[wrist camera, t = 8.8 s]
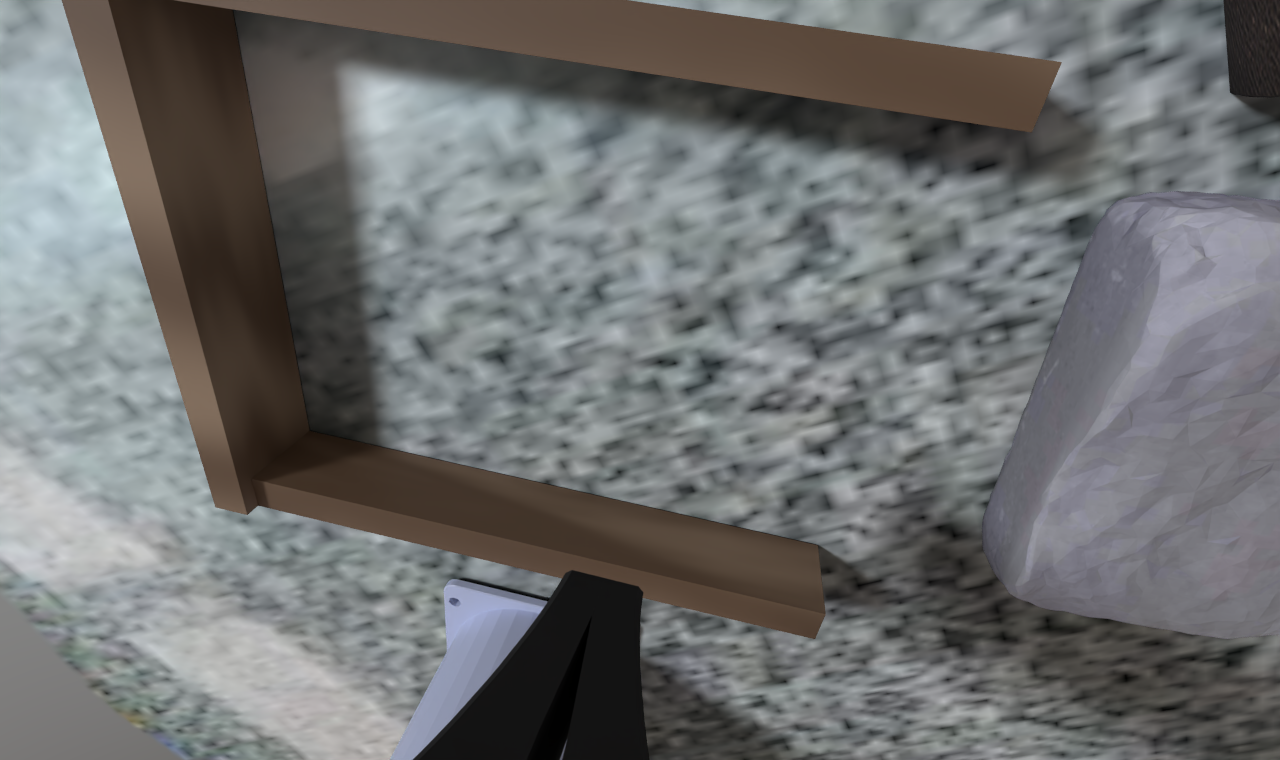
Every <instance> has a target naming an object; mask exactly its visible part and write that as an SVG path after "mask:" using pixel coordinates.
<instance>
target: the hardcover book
mask: <svg viewBox="0 0 1280 760" xmlns="http://www.w3.org/2000/svg"><path fill="white" fill-rule="evenodd" d="M1224 13H1225V27H1226V41H1227V55H1228V69H1229V83H1230V92H1231V93H1233V94H1237V95H1243V96H1249V97H1279V96H1280V0H1224Z"/></svg>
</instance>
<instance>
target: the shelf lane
mask: <svg viewBox="0 0 1280 760" xmlns="http://www.w3.org/2000/svg"><path fill="white" fill-rule="evenodd" d="M62 3H63V6H64V9H65V13H66V16H67V19H68V22H69V26H70V29H71V32H72V36H73V39H74V42H75V46H76V49H77V52H78V55H79V59H80V62H81V65H82V69H83V72H84V75H85V78H86V82H87V85H88V88H89V92H90V95H91V98H92V102H93V105H94V108H95V111H96V115H97V118H98V121H99V125H100V128H101V131H102V135H103V138H104V141H105V144H106V148H107V151H108V154H109V158H110V161H111V164H112V167H113V171H114V174H115V177H116V181H117V184H118V187H119V191H120V194H121V197H122V200H123V204H124V207H125V210H126V214H127V217H128V220H129V223H130V227H131V230H132V233H133V237H134V240H135V243H136V247H137V250H138V253H139V256H140V260H141V263H142V266H143V270H144V273H145V276H146V279H147V283H148V286H149V289H150V293H151V296H152V299H153V303H154V306H155V309H156V312H157V316H158V319H159V322H160V326H161V329H162V332H163V335H164V339H165V342H166V345H167V349H168V352H169V355H170V359H171V362H172V365H173V368H174V372H175V375H176V378H177V382H178V385H179V388H180V391H181V395H182V398H183V401H184V405H185V408H186V411H187V415H188V418H189V421H190V424H191V428H192V431H193V434H194V438H195V441H196V444H197V448H198V451H199V454H200V457H201V461H202V464H203V467H204V471H205V474H206V477H207V480H208V484H209V487H210V490H211V494H212V497H213V500H214V504H215V507H217V508H221V509H225V510H229V511H233V512H237V513H242V514H246V515H248V514H249V513H250V512H251V511H252V510H253V509H254V508H256V507H257V506H258V505H259V506H263V507H267V508H271V509H275V510H279V511H284V512H288V513H292V514H296V515H300V516H304V517H309V518H313V519H317V520H321V521H325V522H329V523H334V524H338V525H342V526H346V527H350V528H354V529H359V530H363V531H367V532H371V533H375V534H379V535H384V536H388V537H392V538H396V539H400V540H404V541H409V542H413V543H417V544H421V545H425V546H429V547H433V548H438V549H442V550H446V551H450V552H454V553H458V554H463V555H467V556H471V557H475V558H479V559H483V560H488V561H492V562H496V563H500V564H504V565H508V566H513V567H517V568H521V569H525V570H529V571H533V572H538V573H542V574H546V575H550V576H554V577H558V578H563V576H564V575H565V573H566V572H569V571H571V570H574V571H578V572H582V573H587V574H591V575H595V576H599V577H603V578H607V579H611V580H615V581H619V582H623V583H627V584H631V585H635V586H639V588H640V589H641V590H642V591H643V592H644V593H643V598H646V599H650V600H654V601H658V602H663V603H667V604H671V605H675V606H679V607H683V608H688V609H692V610H696V611H700V612H704V613H708V614H713V615H717V616H721V617H725V618H729V619H733V620H738V621H742V622H746V623H750V624H754V625H758V626H762V627H767V628H771V629H775V630H779V631H783V632H787V633H792V634H796V635H800V636H804V637H808V638H812V639H815V638H816V635H817V633H818V631H819V628H820V626H821V624H822V621H823V619H824V617H825V605H824V596H823V587H822V578H821V570H820V561H819V552H818V545H814V544H810V543H805V542H801V541H797V540H792V539H788V538H783V537H779V536H774V535H770V534H765V533H761V532H757V531H752V530H748V529H743V528H739V527H734V526H730V525H725V524H721V523H717V522H712V521H708V520H703V519H699V518H694V517H690V516H685V515H681V514H677V513H672V512H668V511H663V510H659V509H654V508H650V507H645V506H641V505H637V504H632V503H628V502H623V501H619V500H614V499H610V498H606V497H601V496H597V495H592V494H588V493H583V492H579V491H574V490H570V489H566V488H561V487H557V486H552V485H548V484H543V483H539V482H534V481H530V480H526V479H521V478H517V477H512V476H508V475H503V474H499V473H494V472H490V471H486V470H481V469H477V468H472V467H468V466H463V465H459V464H454V463H450V462H446V461H441V460H437V459H432V458H428V457H423V456H419V455H414V454H410V453H406V452H401V451H397V450H392V449H388V448H383V447H379V446H374V445H370V444H366V443H361V442H357V441H352V440H348V439H343V438H339V437H334V436H330V435H326V434H321V433H317V432H312V431H310V430H309V425H308V420H307V414H306V409H305V403H304V398H303V392H302V387H301V381H300V376H299V370H298V365H297V359H296V354H295V349H294V343H293V338H292V332H291V327H290V321H289V316H288V310H287V305H286V299H285V294H284V289H283V283H282V278H281V272H280V267H279V261H278V256H277V250H276V245H275V239H274V234H273V228H272V223H271V218H270V212H269V207H268V201H267V196H266V190H265V185H264V179H263V174H262V168H261V163H260V157H259V152H258V147H257V141H256V136H255V130H254V125H253V119H252V114H251V108H250V103H249V97H248V92H247V86H246V81H245V76H244V70H243V65H242V59H241V54H240V48H239V43H238V37H237V32H236V26H235V21H234V15H233V10H232V9H234V10H240V11H247V12H253V13H260V14H266V15H273V16H279V17H286V18H292V19H299V20H305V21H312V22H318V23H325V24H331V25H338V26H344V27H351V28H357V29H364V30H370V31H377V32H383V33H390V34H396V35H403V36H409V37H416V38H422V39H428V40H435V41H441V42H448V43H454V44H461V45H467V46H474V47H480V48H487V49H493V50H500V51H506V52H513V53H519V54H526V55H532V56H539V57H545V58H552V59H558V60H565V61H571V62H578V63H584V64H591V65H597V66H604V67H610V68H617V69H623V70H630V71H636V72H643V73H649V74H656V75H662V76H669V77H675V78H682V79H688V80H695V81H701V82H708V83H714V84H721V85H727V86H734V87H740V88H746V89H753V90H759V91H766V92H772V93H779V94H785V95H792V96H798V97H805V98H811V99H818V100H824V101H831V102H837V103H844V104H850V105H857V106H863V107H870V108H876V109H883V110H889V111H896V112H902V113H909V114H915V115H922V116H928V117H935V118H941V119H948V120H954V121H961V122H967V123H974V124H980V125H987V126H993V127H1000V128H1006V129H1013V130H1019V131H1026V132H1032V131H1033V128H1034V126H1035V124H1036V121H1037V119H1038V117H1039V114H1040V112H1041V110H1042V107H1043V105H1044V103H1045V100H1046V98H1047V96H1048V93H1049V91H1050V89H1051V86H1052V84H1053V82H1054V79H1055V77H1056V75H1057V72H1058V70H1059V68H1060V65H1061V63H1062V62H1056V61H1049V60H1042V59H1035V58H1028V57H1021V56H1014V55H1007V54H1000V53H993V52H986V51H979V50H972V49H965V48H958V47H951V46H944V45H937V44H930V43H923V42H916V41H909V40H902V39H895V38H888V37H881V36H874V35H867V34H860V33H853V32H846V31H839V30H832V29H825V28H818V27H811V26H804V25H797V24H790V23H783V22H776V21H769V20H762V19H755V18H748V17H741V16H734V15H727V14H720V13H713V12H706V11H699V10H692V9H685V8H678V7H671V6H664V5H657V4H650V3H643V2H636V1H629V0H62Z"/></svg>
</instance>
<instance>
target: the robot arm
mask: <svg viewBox="0 0 1280 760" xmlns="http://www.w3.org/2000/svg"><path fill="white" fill-rule="evenodd" d="M643 593H644V592H643V591H642V590H641V589H640V588H639V586H635V585H631V584H627V583H623V582H619V581H615V580H611V579H607V578H603V577H599V576H595V575H591V574H587V573H582V572H578V571H574V570H571V571H569V572H566V573H565V575H564V576H563V578H562V580H561V582H560V583H559V585H558V587H557V588H556V590H555V591H554V593H553V595H552V596H551V598H550V599H549V601H544V600H540V599H536V598H532V597H528V596H524V595H520V594H516V593H511V592H507V591H503V590H499V589H495V588H491V587H487V586H483V585H479V584H475V583H471V582H466V581H462V580H458V579H453V580H450V581H449V582H448V583H447V584H446V586H445V588H444V602H445V620H446V639H447V653H446V655H445V657H444V659H443V660H442V662H441V664H440V666H439V668H438V670H437V672H436V674H435V675H434V677H433V679H432V681H431V683H430V685H429V687H428V689H427V691H426V692H425V694H424V696H423V698H422V700H421V702H420V704H419V706H418V707H417V709H416V711H415V713H414V715H413V717H412V719H411V721H410V722H409V724H408V726H407V728H406V730H405V732H404V734H403V736H402V738H401V739H400V741H399V743H398V745H397V747H396V749H395V751H394V753H393V754H392V756H391V758H390V760H649V754H648V747H647V739H646V730H645V722H644V711H643V699H642V688H641V673H640V615H641V605H642V598H643Z"/></svg>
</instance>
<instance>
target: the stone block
mask: <svg viewBox="0 0 1280 760" xmlns="http://www.w3.org/2000/svg"><path fill="white" fill-rule="evenodd" d="M982 538H983V550H984V552H985V554H986V557H987V559H988V561H989V563H990V566H991V568H992V570H993V571H994V573H995V575H996V576H997V578H998V579H999V580H1000V581H1001V582H1002V583H1003V584H1004V585H1005V587H1006V589H1007V590H1008V592H1009V594H1011V595H1013V596H1014V597H1016V598H1018V599H1020V600H1024V601H1027V602H1030V603H1032V604H1034V605H1036V606H1038V607H1041V608H1045V609H1049V610H1054V611H1066V612H1070V613H1073V614H1077V615H1081V616H1085V617H1093V618H1105V619H1112V620H1116V621H1120V622H1125V623H1130V624H1135V625H1140V626H1146V627H1151V628H1158V629H1166V630H1172V631H1177V632H1182V633H1187V634H1192V635H1195V634H1197V635H1203V636H1210V637H1217V638H1224V639H1232V638H1241V637H1258V636H1265V635H1280V201H1279V200H1267V199H1254V198H1249V197H1244V196H1238V195H1233V196H1227V195H1224V194H1209V193H1200V192H1180V191H1173V192H1164V193H1153V192H1150V193H1146V194H1142V195H1138V196H1133V197H1128V198H1125V199H1121V200H1118V201H1117V202H1115V203H1114V204H1113V205H1112V206H1111V207H1109V208H1108V209H1107V211H1106V213H1105V215H1104V216H1103V218H1102V219H1101V220H1100V222H1099V223H1098V225H1097V227H1096V229H1095V230H1094V232H1093V234H1092V237H1091V239H1090V241H1089V243H1088V246H1087V248H1086V251H1085V254H1084V256H1083V259H1082V262H1081V264H1080V267H1079V269H1078V272H1077V275H1076V277H1075V280H1074V282H1073V284H1072V287H1071V290H1070V293H1069V295H1068V297H1067V300H1066V303H1065V306H1064V309H1063V312H1062V314H1061V317H1060V320H1059V322H1058V325H1057V327H1056V330H1055V333H1054V335H1053V338H1052V340H1051V343H1050V345H1049V347H1048V350H1047V353H1046V356H1045V359H1044V362H1043V364H1042V367H1041V369H1040V372H1039V374H1038V377H1037V379H1036V382H1035V385H1034V387H1033V390H1032V393H1031V395H1030V398H1029V401H1028V403H1027V406H1026V408H1025V410H1024V412H1023V414H1022V417H1021V420H1020V423H1019V426H1018V429H1017V432H1016V435H1015V438H1014V441H1013V444H1012V448H1011V450H1010V452H1009V453H1008V455H1007V456H1006V458H1005V461H1004V464H1003V466H1002V469H1001V472H1000V474H999V477H998V480H997V482H996V485H995V487H994V490H993V491H992V493H991V496H990V501H989V504H988V506H987V509H986V511H985V514H984V517H983V523H982Z"/></svg>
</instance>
